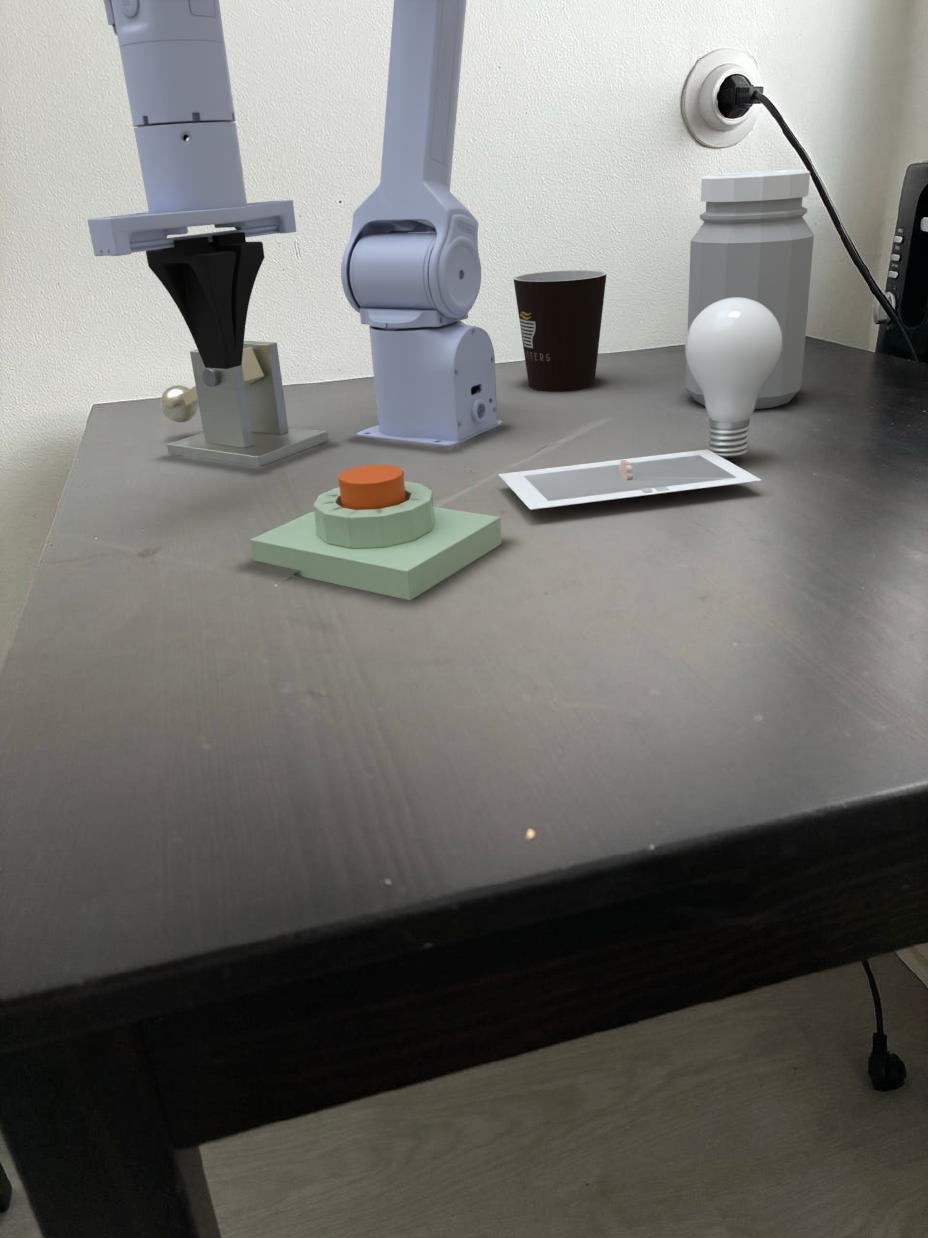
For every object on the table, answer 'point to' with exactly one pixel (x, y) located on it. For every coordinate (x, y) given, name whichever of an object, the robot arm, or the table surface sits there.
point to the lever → (184, 401)
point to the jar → (756, 262)
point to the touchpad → (624, 478)
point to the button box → (380, 543)
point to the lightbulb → (732, 366)
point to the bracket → (244, 414)
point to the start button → (372, 487)
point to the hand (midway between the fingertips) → (223, 366)
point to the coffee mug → (560, 327)
